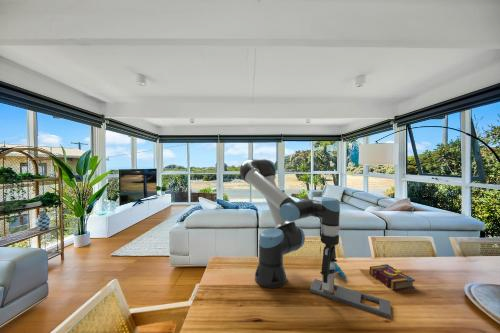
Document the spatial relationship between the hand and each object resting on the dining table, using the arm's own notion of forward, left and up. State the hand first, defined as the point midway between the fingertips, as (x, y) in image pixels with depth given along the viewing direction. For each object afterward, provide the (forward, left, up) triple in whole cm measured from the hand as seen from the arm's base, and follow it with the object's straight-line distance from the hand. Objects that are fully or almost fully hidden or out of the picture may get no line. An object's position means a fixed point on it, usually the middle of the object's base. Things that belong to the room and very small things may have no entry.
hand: (328, 282), depth 94 cm
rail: (+8, 0, -4) cm, 9 cm away
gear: (+1, +17, -5) cm, 17 cm away
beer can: (0, 0, -4) cm, 4 cm away
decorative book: (+24, +26, -5) cm, 35 cm away
